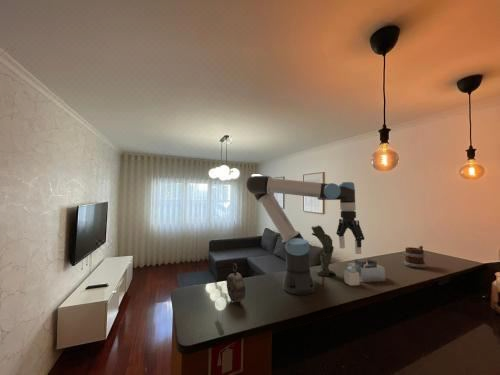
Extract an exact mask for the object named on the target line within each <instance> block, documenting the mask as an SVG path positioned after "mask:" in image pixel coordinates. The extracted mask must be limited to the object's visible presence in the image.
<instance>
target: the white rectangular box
mask: <svg viewBox="0 0 500 375" xmlns="http://www.w3.org/2000/svg"><path fill="white" fill-rule="evenodd" d="M347 263H348V264H347V265H348V266H347V267H352V265H355V268H356V272H358V273H359V283H370V282H373V283H374V282H384V281H386V270H385V267H384V266H382V265H379V264H378V263H377V261H376V260H374V259H371V258H367V260H366V261H365V260H364V261H362V260H359V259H354V262H347Z"/></svg>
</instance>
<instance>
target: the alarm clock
mask: <svg viewBox="0 0 500 375" xmlns="http://www.w3.org/2000/svg"><path fill="white" fill-rule="evenodd" d="M232 269H233V273H230V274H229V275H228V276H227V278H226V291H227V295H228V298H229V299H230V302H229V304H230V305H231V303H232V302H233V303H237V302H239V304H240V308H241V307H243V304H242V301H244V300H245V298H246V285H245V281H244V278H243V276H242V274H241V273H239V272H237V271H238V265H237V263H234V264H233V265H232Z"/></svg>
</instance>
